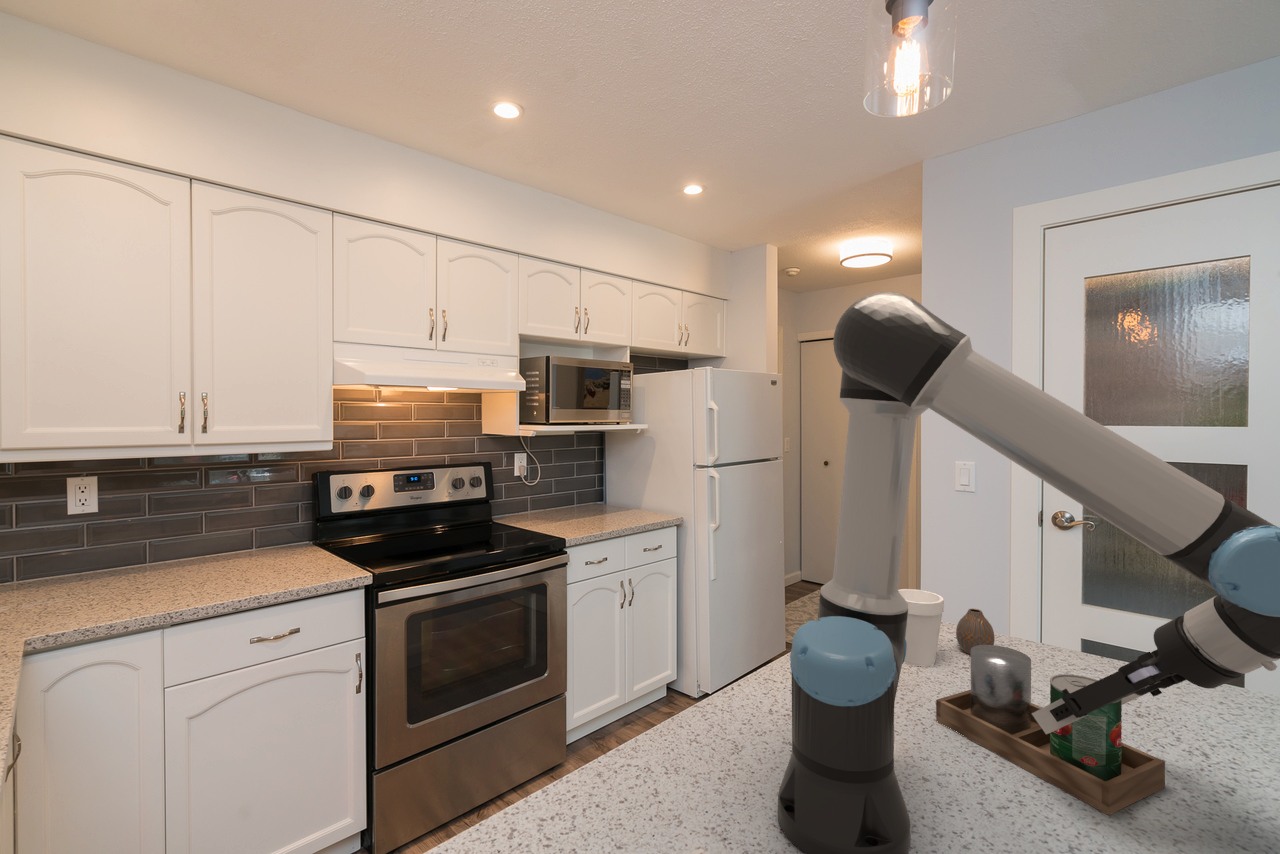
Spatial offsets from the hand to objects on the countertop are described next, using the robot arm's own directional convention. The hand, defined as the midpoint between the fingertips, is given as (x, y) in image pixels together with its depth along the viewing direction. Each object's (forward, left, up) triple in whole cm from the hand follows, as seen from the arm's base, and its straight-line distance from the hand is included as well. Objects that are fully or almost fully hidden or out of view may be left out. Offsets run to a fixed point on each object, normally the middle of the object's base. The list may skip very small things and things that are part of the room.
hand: (1070, 712), depth 82 cm
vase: (+37, +16, -8) cm, 41 cm away
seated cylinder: (+5, +9, -8) cm, 13 cm away
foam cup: (+26, +25, -8) cm, 37 cm away
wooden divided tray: (+2, +4, -8) cm, 9 cm away
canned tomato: (-1, -2, -7) cm, 7 cm away
